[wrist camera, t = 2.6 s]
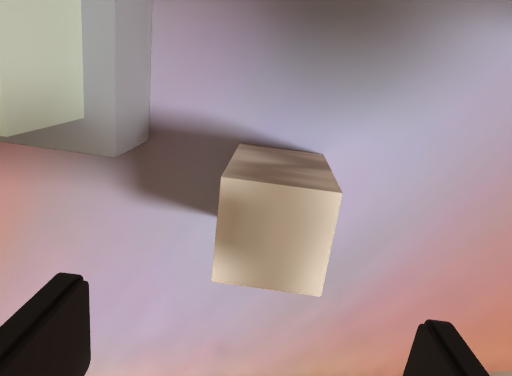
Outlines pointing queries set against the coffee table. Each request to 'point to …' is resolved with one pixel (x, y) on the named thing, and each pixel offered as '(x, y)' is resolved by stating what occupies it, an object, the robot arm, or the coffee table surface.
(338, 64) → the coffee table surface
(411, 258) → the coffee table surface
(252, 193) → the ash block
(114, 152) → the tower bottom block
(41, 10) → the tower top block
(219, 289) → the coffee table surface
